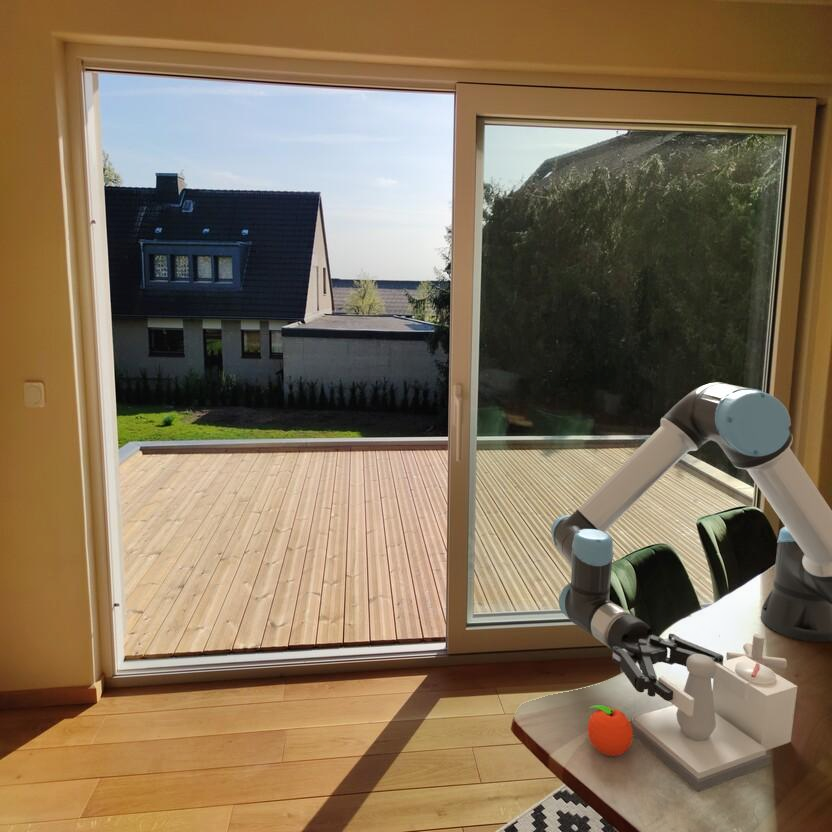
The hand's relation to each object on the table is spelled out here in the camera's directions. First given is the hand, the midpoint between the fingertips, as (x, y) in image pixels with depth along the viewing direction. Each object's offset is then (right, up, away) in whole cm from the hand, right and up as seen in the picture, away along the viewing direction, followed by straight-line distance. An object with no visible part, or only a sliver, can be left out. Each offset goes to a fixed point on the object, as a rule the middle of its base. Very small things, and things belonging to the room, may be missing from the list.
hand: (720, 699), depth 98 cm
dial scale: (+2, -10, +7) cm, 13 cm away
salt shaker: (-2, -8, +5) cm, 10 cm away
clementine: (-16, -10, +5) cm, 20 cm away
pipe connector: (+17, -8, +23) cm, 30 cm away
